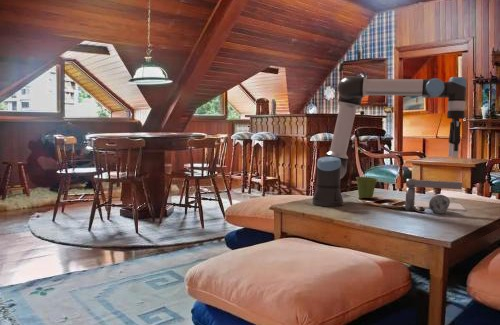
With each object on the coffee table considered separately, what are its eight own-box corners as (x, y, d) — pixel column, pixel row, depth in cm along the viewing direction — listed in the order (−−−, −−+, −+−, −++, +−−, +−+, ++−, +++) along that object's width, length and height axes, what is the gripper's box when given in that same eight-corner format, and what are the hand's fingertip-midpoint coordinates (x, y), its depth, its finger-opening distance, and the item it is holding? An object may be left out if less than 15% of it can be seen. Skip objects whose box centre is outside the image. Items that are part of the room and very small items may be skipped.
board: (416, 207, 222) (417, 206, 222) (414, 202, 239) (414, 200, 239) (465, 211, 216) (465, 209, 216) (459, 205, 233) (459, 203, 233)
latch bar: (406, 186, 213) (406, 179, 213) (405, 185, 217) (406, 178, 217) (461, 190, 207) (462, 182, 206) (460, 188, 211) (460, 181, 211)
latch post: (405, 210, 214) (406, 187, 213) (404, 208, 218) (406, 186, 217) (414, 211, 213) (415, 188, 212) (413, 209, 217) (414, 187, 216)
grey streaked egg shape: (451, 209, 202) (442, 188, 206) (430, 216, 206) (422, 196, 210) (456, 212, 214) (447, 192, 217) (436, 218, 218) (428, 199, 221)
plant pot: (379, 200, 242) (380, 179, 241) (357, 199, 242) (358, 179, 241) (373, 196, 254) (374, 177, 253) (352, 196, 254) (353, 176, 253)
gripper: (469, 109, 202) (466, 159, 204) (460, 111, 223) (457, 156, 225) (451, 109, 204) (448, 158, 206) (444, 111, 225) (441, 155, 227)
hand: (453, 157), depth 216 cm, fingers open, 9 cm apart
